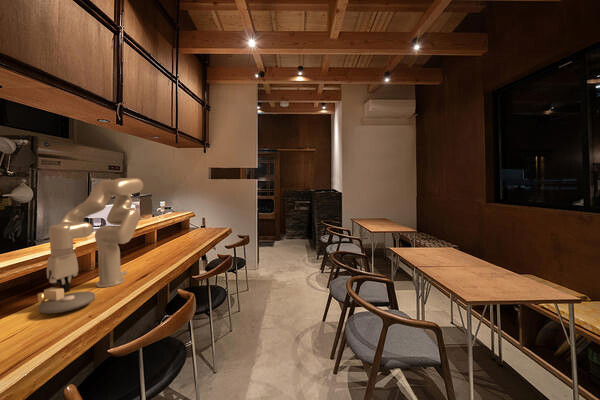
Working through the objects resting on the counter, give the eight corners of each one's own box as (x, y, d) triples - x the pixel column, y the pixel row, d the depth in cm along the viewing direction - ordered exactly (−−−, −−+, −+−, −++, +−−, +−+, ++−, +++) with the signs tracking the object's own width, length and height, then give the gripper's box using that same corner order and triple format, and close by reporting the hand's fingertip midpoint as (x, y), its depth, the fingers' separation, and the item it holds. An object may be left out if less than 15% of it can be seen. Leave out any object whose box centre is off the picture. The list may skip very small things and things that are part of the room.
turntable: (38, 302, 112) (37, 290, 112) (90, 290, 125) (90, 279, 125) (39, 318, 99) (39, 304, 98) (98, 302, 112) (97, 290, 112)
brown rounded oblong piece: (56, 302, 117) (55, 287, 117) (85, 304, 115) (84, 288, 115) (36, 310, 109) (35, 294, 109) (67, 312, 107) (66, 296, 107)
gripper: (74, 247, 123) (76, 284, 124) (35, 256, 109) (38, 298, 110) (86, 248, 121) (88, 286, 123) (48, 257, 107) (52, 299, 108)
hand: (65, 291), depth 116 cm, fingers closed
